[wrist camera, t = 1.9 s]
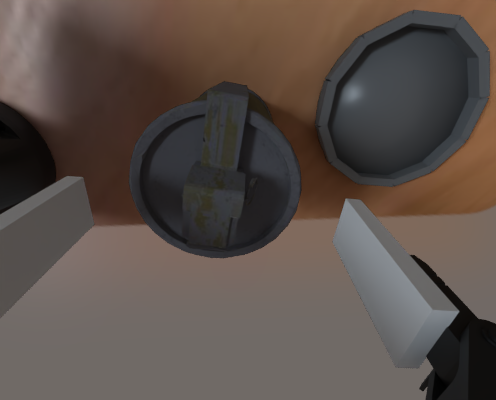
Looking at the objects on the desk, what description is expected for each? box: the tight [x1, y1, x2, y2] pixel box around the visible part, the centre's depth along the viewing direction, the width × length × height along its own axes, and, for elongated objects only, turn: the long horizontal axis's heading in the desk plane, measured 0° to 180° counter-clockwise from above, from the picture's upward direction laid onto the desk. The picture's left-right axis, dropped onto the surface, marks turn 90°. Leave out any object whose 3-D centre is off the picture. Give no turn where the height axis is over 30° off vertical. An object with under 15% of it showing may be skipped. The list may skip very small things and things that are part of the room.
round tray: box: [315, 10, 490, 187], centre depth 28 cm, size 18×18×2 cm
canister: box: [129, 81, 301, 258], centre depth 21 cm, size 11×10×20 cm
